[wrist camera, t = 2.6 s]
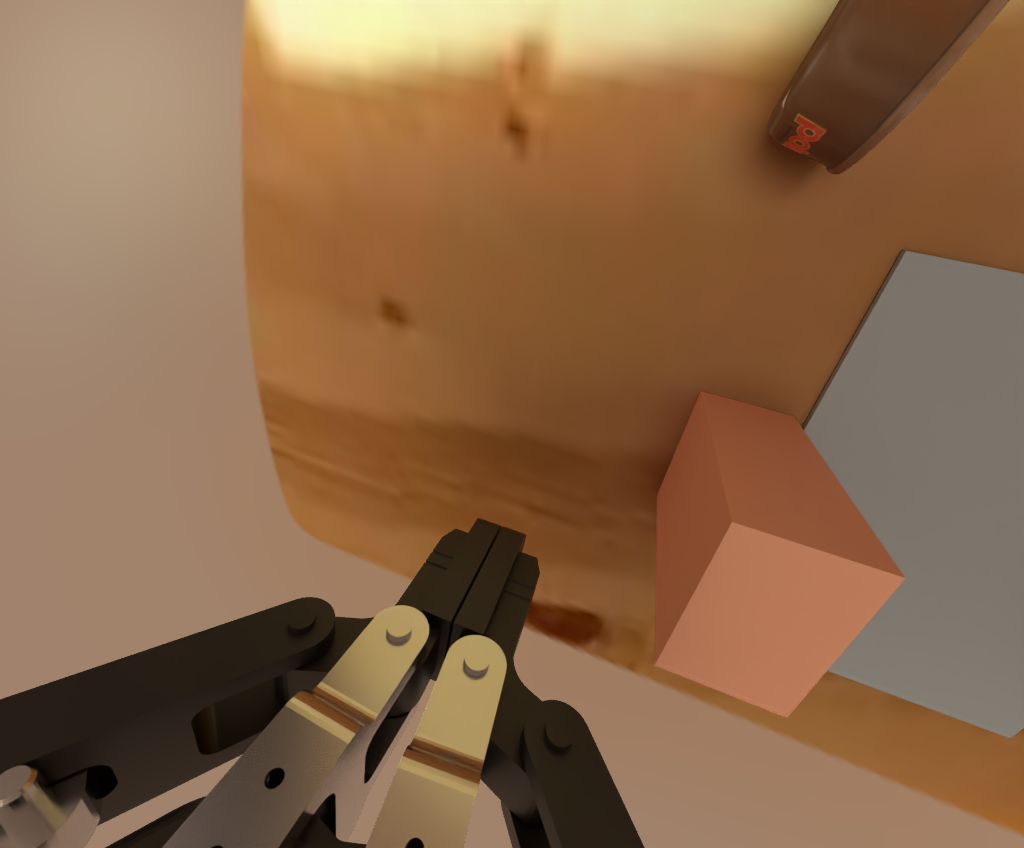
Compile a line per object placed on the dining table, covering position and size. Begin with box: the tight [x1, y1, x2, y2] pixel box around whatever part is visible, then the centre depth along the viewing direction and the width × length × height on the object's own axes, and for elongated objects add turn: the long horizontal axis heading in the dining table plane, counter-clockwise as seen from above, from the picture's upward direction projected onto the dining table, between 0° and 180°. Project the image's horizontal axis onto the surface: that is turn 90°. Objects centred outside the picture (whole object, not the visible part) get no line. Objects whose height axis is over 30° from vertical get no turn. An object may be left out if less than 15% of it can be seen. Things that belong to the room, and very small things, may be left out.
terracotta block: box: [655, 391, 905, 718], centre depth 16 cm, size 4×6×10 cm, turn 168°
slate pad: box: [802, 250, 1024, 738], centre depth 19 cm, size 16×20×1 cm
